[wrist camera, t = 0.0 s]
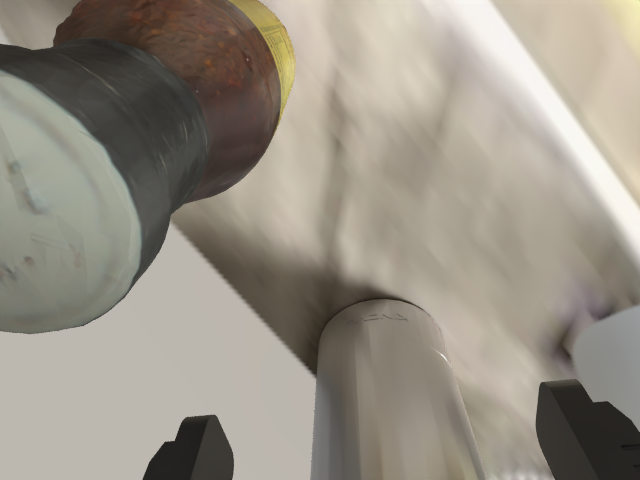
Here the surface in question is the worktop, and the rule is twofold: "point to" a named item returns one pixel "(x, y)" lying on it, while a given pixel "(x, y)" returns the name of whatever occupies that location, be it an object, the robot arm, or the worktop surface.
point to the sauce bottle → (125, 143)
